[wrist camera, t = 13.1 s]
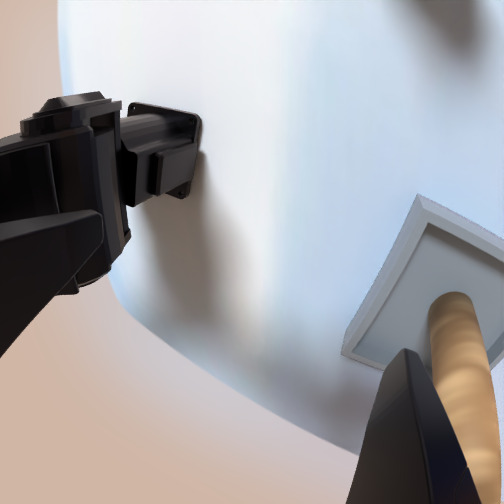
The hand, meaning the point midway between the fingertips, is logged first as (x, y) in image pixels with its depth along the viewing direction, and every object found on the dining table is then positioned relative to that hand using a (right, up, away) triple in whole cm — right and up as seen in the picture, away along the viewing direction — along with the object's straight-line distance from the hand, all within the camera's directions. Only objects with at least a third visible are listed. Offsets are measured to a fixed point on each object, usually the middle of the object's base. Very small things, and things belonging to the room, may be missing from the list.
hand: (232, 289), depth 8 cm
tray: (+15, -3, +11) cm, 18 cm away
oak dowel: (+14, -3, +10) cm, 17 cm away
